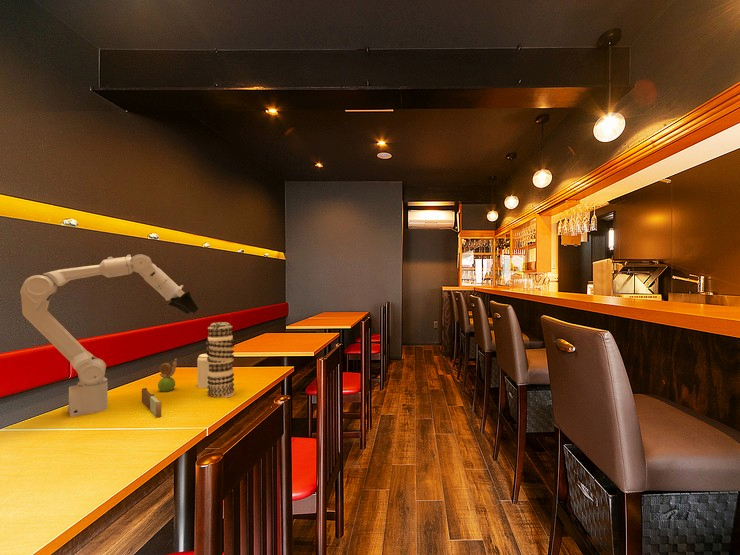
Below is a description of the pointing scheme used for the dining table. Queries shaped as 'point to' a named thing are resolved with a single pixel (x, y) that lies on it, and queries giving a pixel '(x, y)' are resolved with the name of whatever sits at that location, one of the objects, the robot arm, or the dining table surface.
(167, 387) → the snail figurine
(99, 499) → the dining table surface
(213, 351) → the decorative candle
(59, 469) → the dining table surface
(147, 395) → the base
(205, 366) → the beverage can
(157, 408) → the fence gate
